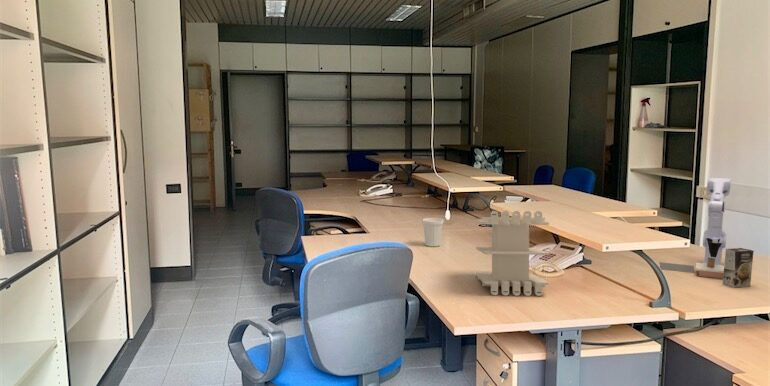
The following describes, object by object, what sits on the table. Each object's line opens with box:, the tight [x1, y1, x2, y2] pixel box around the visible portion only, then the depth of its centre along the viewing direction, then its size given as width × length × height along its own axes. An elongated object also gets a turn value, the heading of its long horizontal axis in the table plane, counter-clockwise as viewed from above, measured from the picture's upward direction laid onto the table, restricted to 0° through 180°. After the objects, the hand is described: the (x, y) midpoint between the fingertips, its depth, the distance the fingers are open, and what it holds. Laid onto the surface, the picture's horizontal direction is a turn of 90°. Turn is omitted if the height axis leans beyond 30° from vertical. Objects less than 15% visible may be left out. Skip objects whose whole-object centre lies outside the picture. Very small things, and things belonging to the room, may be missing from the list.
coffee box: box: [722, 247, 755, 289], centre depth 242 cm, size 9×6×16 cm
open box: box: [697, 270, 724, 280], centre depth 258 cm, size 10×10×4 cm
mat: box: [659, 261, 696, 274], centre depth 271 cm, size 15×15×1 cm
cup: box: [421, 217, 445, 248], centre depth 320 cm, size 12×12×15 cm
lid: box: [695, 258, 724, 273], centre depth 258 cm, size 12×12×5 cm
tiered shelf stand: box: [475, 210, 550, 297], centre depth 244 cm, size 26×31×35 cm
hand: (712, 255), depth 257 cm, fingers open, 7 cm apart
